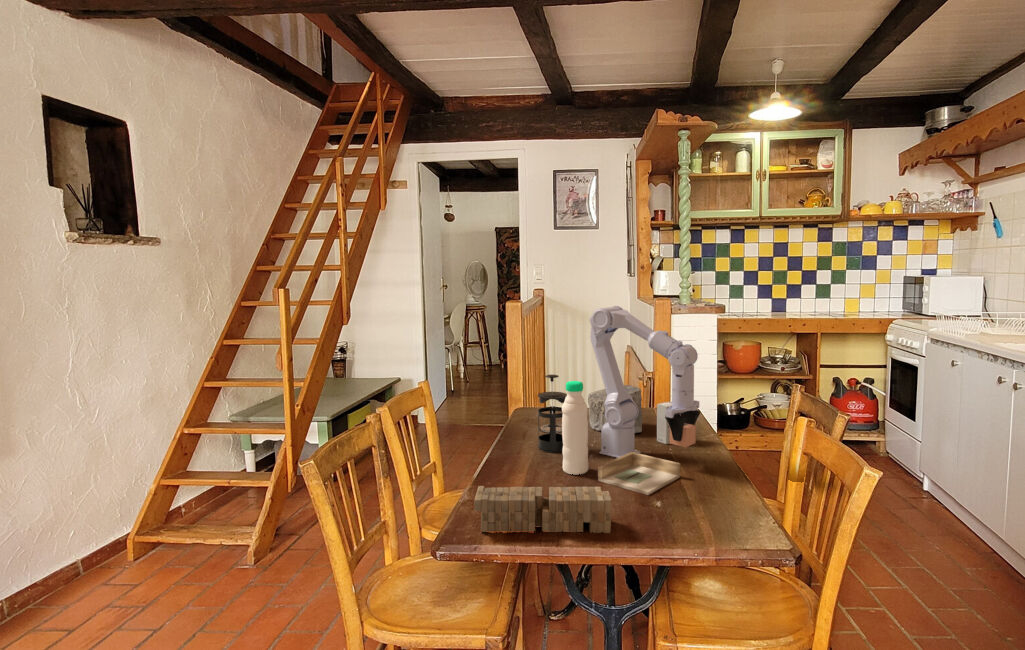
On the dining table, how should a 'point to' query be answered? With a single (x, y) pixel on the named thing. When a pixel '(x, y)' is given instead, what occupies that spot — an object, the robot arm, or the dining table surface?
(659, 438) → the skincare box
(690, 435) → the terracotta cube
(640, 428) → the grey brown chunky block
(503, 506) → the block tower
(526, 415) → the dining table surface
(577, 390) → the milk bottle
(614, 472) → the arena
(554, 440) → the french press
